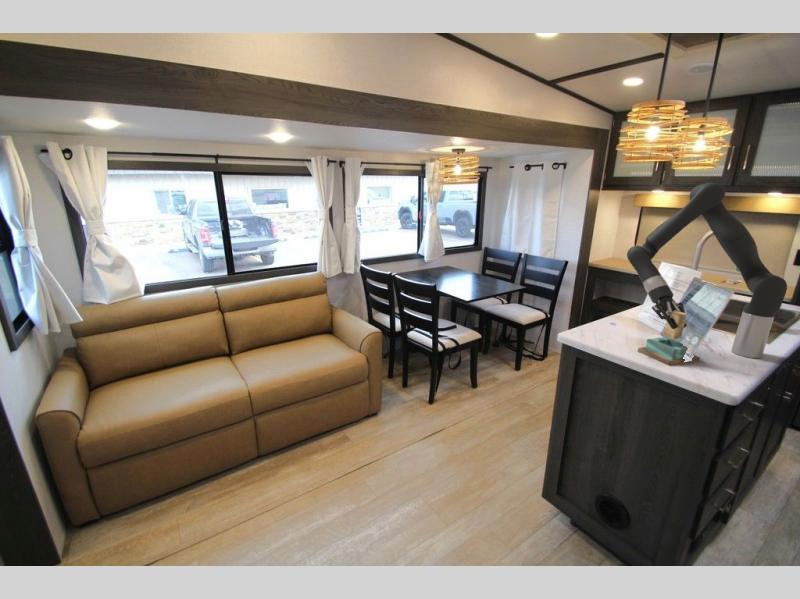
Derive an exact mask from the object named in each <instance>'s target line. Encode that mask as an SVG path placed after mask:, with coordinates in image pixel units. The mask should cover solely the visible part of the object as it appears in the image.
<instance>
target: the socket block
mask: <svg viewBox="0 0 800 599" xmlns="http://www.w3.org/2000/svg"><path fill="white" fill-rule="evenodd" d="M680 342H681V341H680ZM680 342H679V340H677V339H671V338H669V337H666V336H663V337H655V338H648V339H646V343H645V346H644V347H638V349H637V352H638V353H641V354H643V355H644V356H647V357H649V358H651V359H654V360H655V361H658V362H660V363H662V364H664V365H667V366H672V365H680V363H681V364H684V363H683V362H684V361H685V359H683V357H684V355H685V353H686V351H687V349H688V348H687V347H686V346H683V344H682V343H683V342H682V343H680ZM693 355H694V357H693V358H692V361H695V362H700V359H701V357H700V356H698V355H695V354H693Z"/></svg>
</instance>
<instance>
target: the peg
mask: <svg viewBox="0 0 800 599" xmlns="http://www.w3.org/2000/svg"><path fill="white" fill-rule="evenodd" d="M671 314H672V317H673V318H674V320H675V322H676V324H677V325H678V327H677V328H675V329H672V328H671V327H670V325H669V323H668V322H667V321H666V322H665V327H664V330H663V337H669V338H671V339H675V340H677V339H678V340H679V339H681V338H682V335H683V330H684V328H683V327H684V324H685V323H686V320H687V317H688V313H686V312H685V313H683V312H680V311H676V310H675V311H672V312H671Z"/></svg>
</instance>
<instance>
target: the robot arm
mask: <svg viewBox="0 0 800 599" xmlns="http://www.w3.org/2000/svg"><path fill="white" fill-rule="evenodd" d="M725 196H726V189H725V187H724V186H723V185H722V184H721V183H718V182H717V183H716V182H707V183H700V184H698V185H696V186H695V187H693V188H692V189H691V191H690V193H689V201H688V203H687V204H686V205H685V206H684V207H683V208H681V209H680V210H679V211H677V212H676V213H675V214H674V215H672V216H670V217H669V218H667V219H666V220H665V221H663V222H662V223H661V224H660V225H659V226H657V227H656V228H655V229H654V230H653V231H651V233H649V235H647V236H646V238H645V242H644V243H643V244H642V245H641V246H640V245H634V246H631V247H630V248H629V249H628V251H627V253H626V258H627V259H628V261H629V263H630V264H631V266H632V267H633V269H634V270H635V271H636V273H637V275H638V277H639V279H640V280H641V283H642V284H643V288H644V289H645V291H646V294H647V296H648V297H649V299H650V301H651V303H653V304H655V305H653V306H651V309H652V310H653V312H655V313H656V315H657V316H658V317H659V318H660V319H661V320H665V321H666V322H668V323H669V325H670V327H671V328H672V329H675V328H677V327H678V325H677V324H676V322H675V320H674V318H673V317H672V314H671V312H672V311H680V312H683V313H686V311H685V308H684V304H683V302H679V303H678V302H676V301H675V299H673V297H674V293H673V291H672V289H671V288H670V285H669V284H668V283H667V281H666V280H665V278H664V277H663V276H662V274H661V272H660V271H659V269H658V268H657V267H656V266H655V264H654V263H653V261H652V260H653V259H654V258H655V256H656V255H657V254H658V252H659V251H660V249H662V248H663V247H664V246H665V245H666V244H667V243H668V242H670V241H671V240H672V239H673V238H675V236H677V235H678V234H679V233H680V232H681V231H682V230H684V229H685V228H686V227H687V226H688V225H690V224H691V223H692V222H693V221H694V220H696V219H697V218H699V217H700V216H702V217H703V218H704V221H706V222H707V225H708V227H709V228H710V230H711V231H712V234H713V235H714V237H715V238H716V240H717V242H718V243H719V246H721V248H722V250H723V251H724V252H725V254H726V255H727V257H728V258H729V259H730V261H732V263H733V265H734V266H736V268H737V270H738V271H739V273H740V274H741V277H742V279H743V281H744V283H745V285H746V287H747V289H748V290H749V292H751V293H752V296H751V298H750V301H749V303H746V304H745V305H744V306H743V310H742V311H741V312H742V313H741V316H740V320H739V322H738V323H739V324H738V326H737V330H736V333H735V337H734V339H733V343H732V346H731V349H730V350H731V352H732V353H734V354H736V355H739V356H742V357H746V358H751V359H761V358H762V357H763V354H764V351H765V348H766V345H767V342H768V339H769V337H770V336H769V335H770V332H771V328H772V326H773V322H774V319H775V316H776V313H777V312H778V311H779V310H780V309H781V307H782V304H783V301H784V299H785V297H786V293H787V292H788V291H787V290H788V284H787V281H786V279H784V278H783V277H780V276H779V275H776V274H773V273H772V272H770V270H769V269H768V268H767V267H766V265H765V264H764V263H763V262H762V260H761V258H760V256H759V250H758V246H757V244H756V241H755V239H754V237H753V236H752V235H751V233H750V231H749V230H748V229H747V227H746V226H745V225H744V224H743V223H742V222H741V221H740V220H739V219H738V218H737V217H735V216H734V215H733V214H732V213H730V212H729V210H728V209H727V207H726V206H725V204H724V203H723V200H724V198H725ZM687 326H688V324H687V323H686V322H685V324H684V327H683V329H684V328H687Z"/></svg>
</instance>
